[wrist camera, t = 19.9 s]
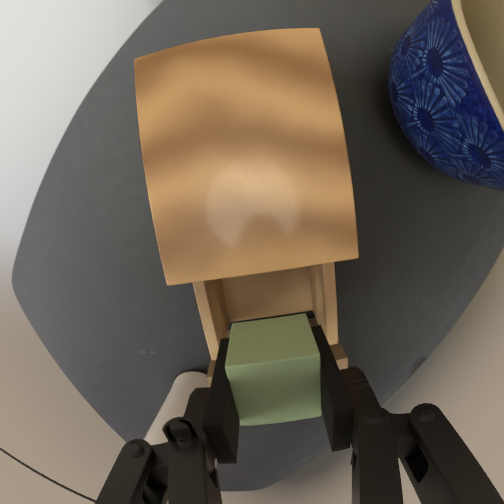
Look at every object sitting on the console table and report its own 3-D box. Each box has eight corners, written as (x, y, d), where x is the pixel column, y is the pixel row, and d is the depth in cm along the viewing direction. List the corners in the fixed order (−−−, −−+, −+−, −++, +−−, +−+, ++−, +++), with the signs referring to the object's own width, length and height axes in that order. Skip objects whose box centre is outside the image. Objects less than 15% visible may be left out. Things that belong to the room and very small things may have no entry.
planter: (403, 212, 24) (523, 246, 9) (332, 50, 21) (394, -48, 6) (501, 165, 22) (596, 172, 8) (447, 35, 19) (524, -11, 4)
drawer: (328, 362, 27) (345, 410, 20) (229, 376, 28) (222, 426, 20) (313, 181, 23) (337, 180, 16) (191, 200, 24) (164, 206, 16)
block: (244, 378, 16) (241, 426, 12) (231, 322, 15) (224, 366, 11) (310, 370, 16) (321, 416, 12) (305, 312, 15) (320, 353, 11)
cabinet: (324, 232, 25) (359, 258, 16) (196, 251, 25) (166, 285, 17) (299, 75, 22) (319, 27, 13) (172, 96, 22) (133, 58, 13)
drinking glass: (159, 368, 29) (109, 471, 14) (214, 358, 28) (188, 477, 13) (183, 409, 30) (153, 509, 15) (235, 402, 30) (224, 513, 15)
